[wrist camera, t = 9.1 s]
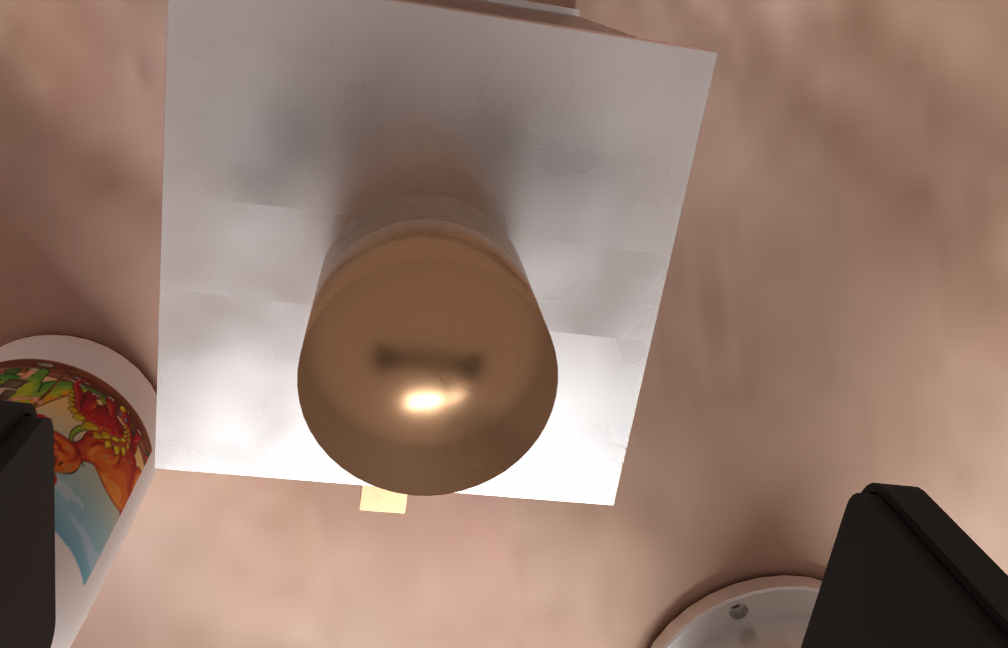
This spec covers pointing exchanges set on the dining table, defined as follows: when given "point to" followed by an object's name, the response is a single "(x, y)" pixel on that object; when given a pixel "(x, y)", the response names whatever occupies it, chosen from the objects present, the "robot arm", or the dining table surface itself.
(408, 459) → the plunger
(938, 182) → the dining table surface
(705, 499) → the dining table surface
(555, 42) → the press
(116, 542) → the milk bottle
